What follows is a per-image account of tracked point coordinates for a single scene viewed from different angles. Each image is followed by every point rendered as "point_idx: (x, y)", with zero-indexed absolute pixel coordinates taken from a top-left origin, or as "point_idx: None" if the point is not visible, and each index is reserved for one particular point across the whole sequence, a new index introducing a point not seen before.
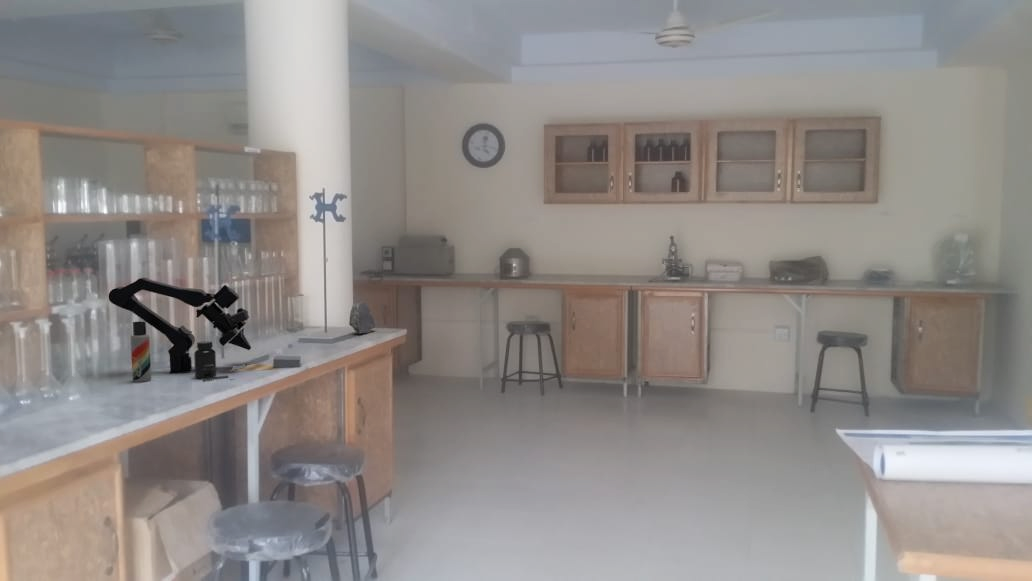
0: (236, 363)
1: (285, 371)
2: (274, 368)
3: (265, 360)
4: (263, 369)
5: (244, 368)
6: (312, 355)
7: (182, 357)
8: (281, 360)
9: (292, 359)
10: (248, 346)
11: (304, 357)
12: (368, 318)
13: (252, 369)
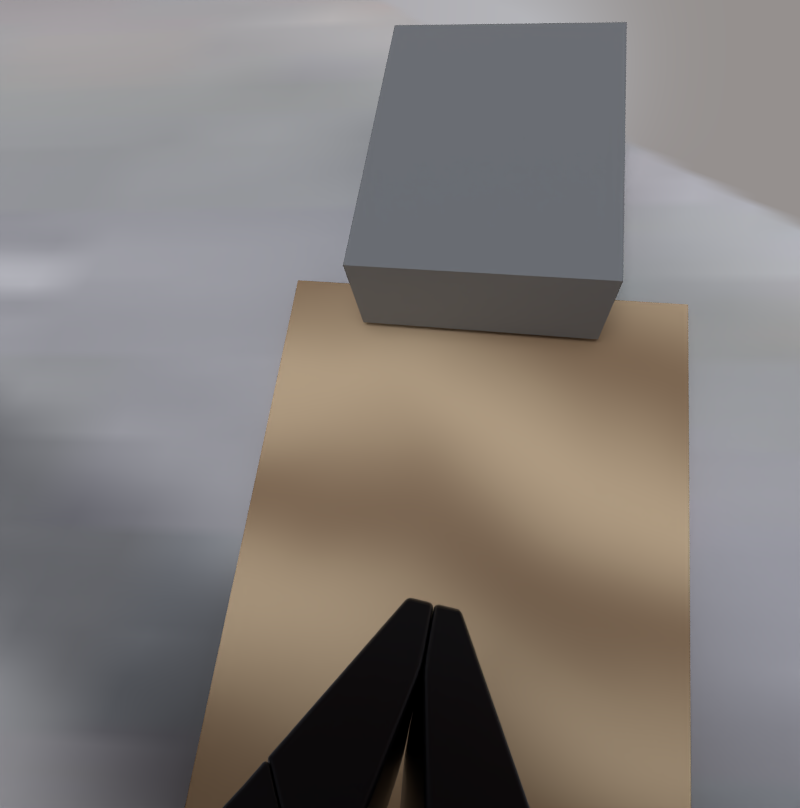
0: (14, 787)
1: (755, 227)
2: (618, 329)
3: (14, 422)
4: (651, 454)
5: (508, 704)
6: (7, 34)
7: None
8: (621, 200)
9: (609, 84)
10: (471, 674)
11: (62, 87)
12: None
13: (616, 594)
